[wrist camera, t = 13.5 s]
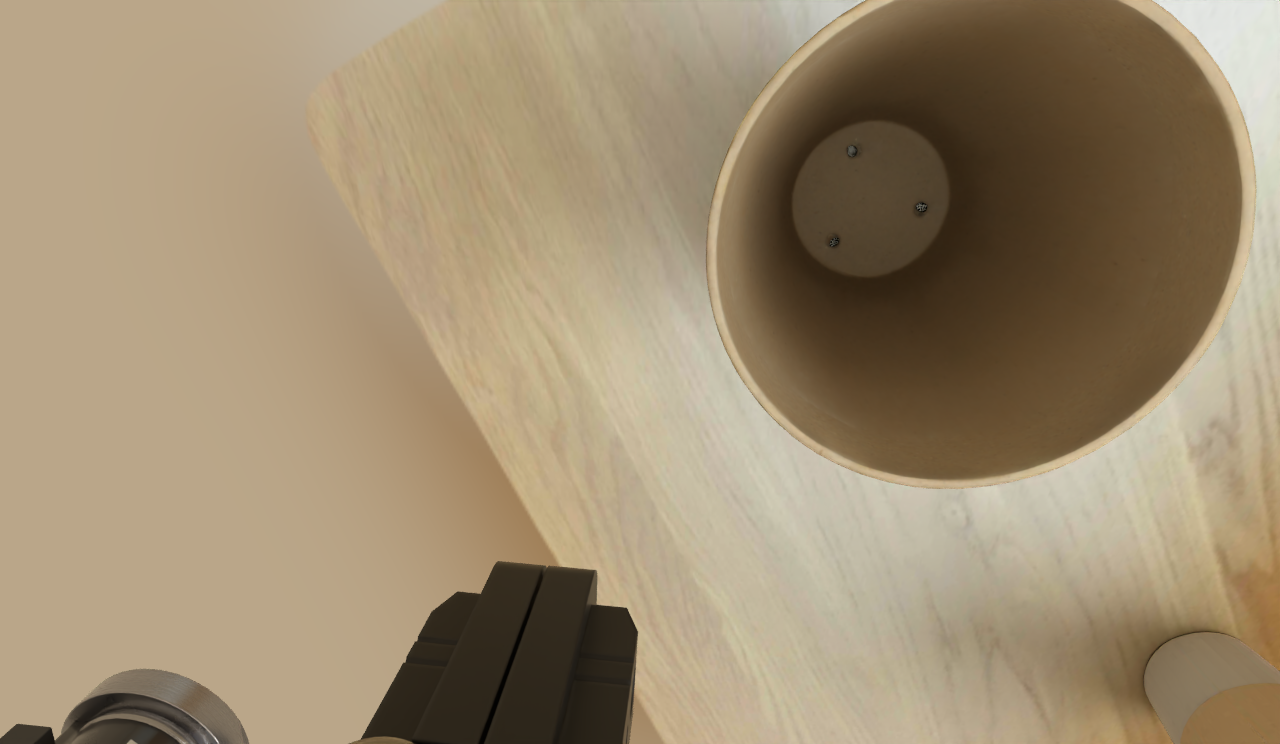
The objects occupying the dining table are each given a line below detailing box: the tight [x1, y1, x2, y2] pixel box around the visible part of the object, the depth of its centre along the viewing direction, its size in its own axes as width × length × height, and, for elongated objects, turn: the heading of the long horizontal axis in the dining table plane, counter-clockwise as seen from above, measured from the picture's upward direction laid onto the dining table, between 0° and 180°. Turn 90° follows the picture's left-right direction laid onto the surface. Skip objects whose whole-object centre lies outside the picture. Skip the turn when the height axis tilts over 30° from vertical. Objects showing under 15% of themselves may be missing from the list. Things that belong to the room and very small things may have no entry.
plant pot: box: [706, 0, 1256, 489], centre depth 29 cm, size 15×15×16 cm
